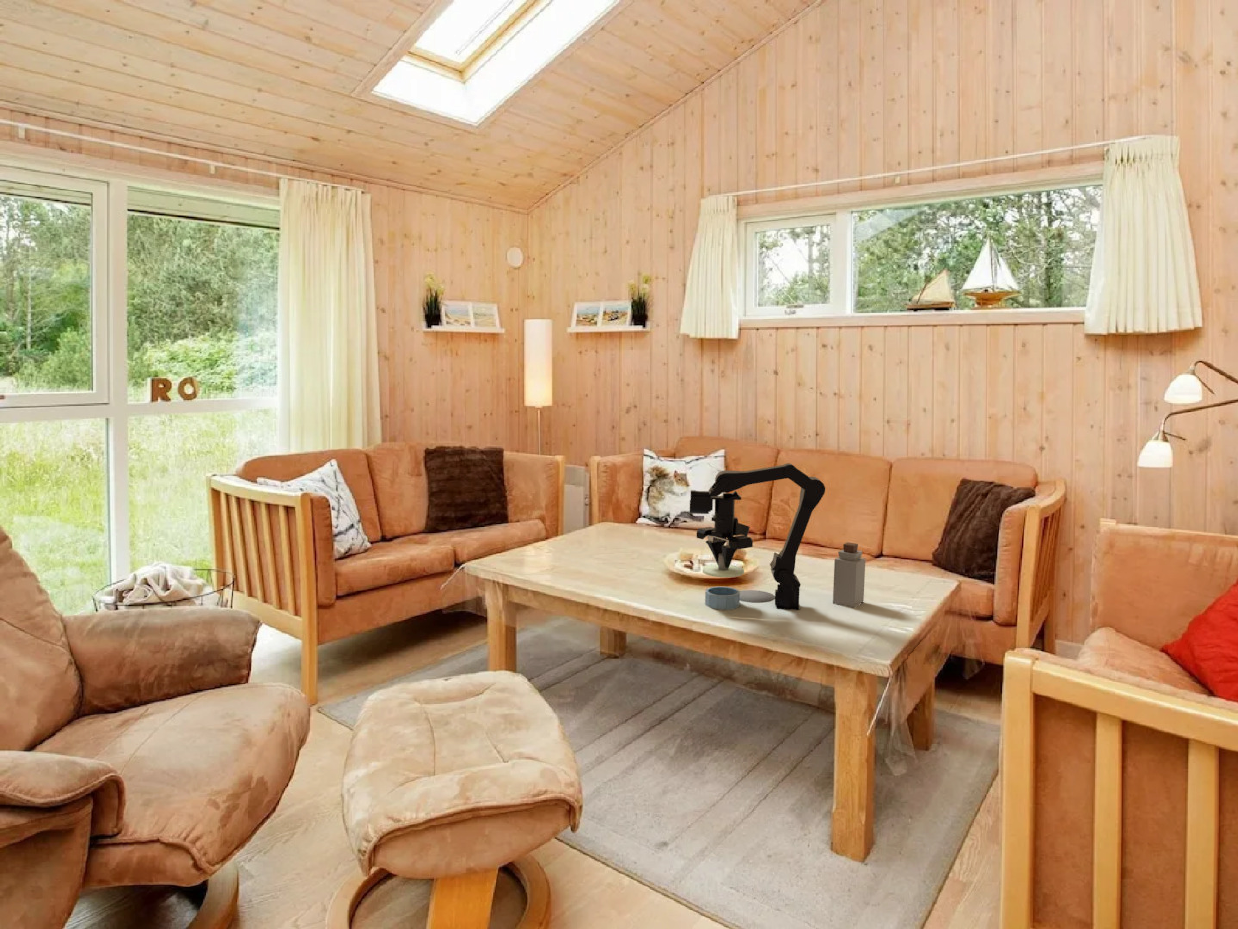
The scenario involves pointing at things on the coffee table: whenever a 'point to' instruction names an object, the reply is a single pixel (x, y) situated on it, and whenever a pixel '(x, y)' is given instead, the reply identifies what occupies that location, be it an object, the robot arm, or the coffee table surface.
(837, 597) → the perfume bottle
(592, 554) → the coffee table surface
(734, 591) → the bowl
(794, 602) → the robot arm
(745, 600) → the mat
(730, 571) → the lid
